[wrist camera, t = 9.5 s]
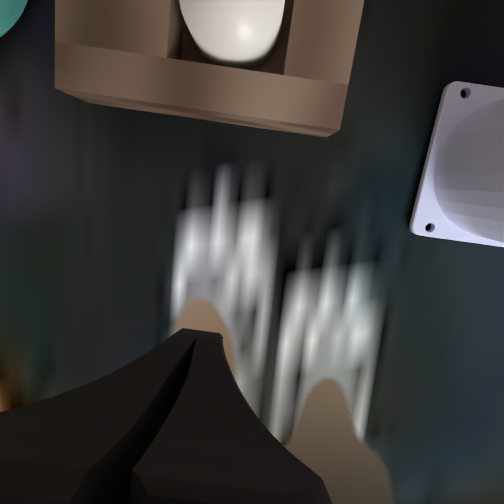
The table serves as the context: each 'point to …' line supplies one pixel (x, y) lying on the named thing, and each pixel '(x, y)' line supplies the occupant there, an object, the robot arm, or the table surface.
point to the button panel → (200, 71)
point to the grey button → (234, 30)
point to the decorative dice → (10, 13)
